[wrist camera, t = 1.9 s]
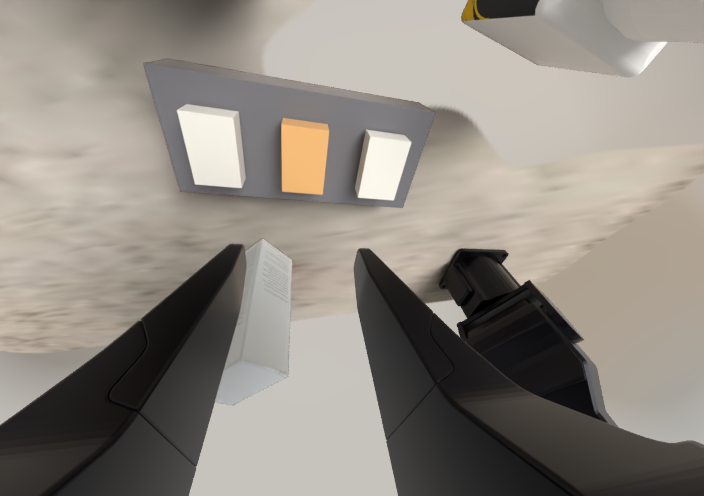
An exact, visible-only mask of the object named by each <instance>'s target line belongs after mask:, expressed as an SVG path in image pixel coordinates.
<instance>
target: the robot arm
mask: <svg viewBox="0 0 704 496" xmlns="http://www.w3.org/2000/svg"><path fill="white" fill-rule="evenodd" d="M507 256H508V253H507V252H506V251H505V250H482V249H461V250H459V251H458V252H457V254H456V256H455V258H454V259H453V261H452V263H451V265H450V266H449V268H448V270H447V272H446V273H445V275H444V277H443V279H442V280H441V282H440V284H439V286H440V288H441V289H448V290H449V292H450V293H451V295H452V297H453V299H454V300H455V302H456V304H457V305H458V306H461V308H462V310H463V312H464V313H465V315H466V317H467V319H466V320H464V321H462V322H459V323H458V324H457V327H458V330H459V334H460V337H459V336H458V335H457V334H456V333H455V332H454V331H452V330H451V329H450V328H449V327H448V326H447V325H446V324H445V323H444V322H443V321H442V320H441V319H440V318H439V317H438V316H437V315H436V314H435V313H433V311H432V310H431V309H430V308H429V307H428V306H427V305H426V304H425V303H424V302H423V301H422V300H421V299H420V298H419V297H418V296H417V295H416V294H415V293H414V292H413V291H412V290H411V289H410V288H409V287H408V286H407V285H406V284H405V283H404V282H403V281H402V280H401V279H400V278H399V277H398V276H397V275H396V274H395V273H394V272H393V271H392V270H391V269H390V268H389V267H388V266H387V265H385V264H384V263H383V262H382V261H381V260H380V259H379V258H378V257H377V256H376V255H375V254H374V253H373V252H372V251H371V250H370V249H366V248H360V249H358V251H357V255H356V259H355V263H354V278H355V288H356V299H357V308H358V313H359V318H360V322H361V327H362V332H363V336H364V341H365V345H366V350H367V354H368V359H369V364H370V368H371V372H372V377H373V382H374V386H375V391H376V395H377V400H378V405H379V409H380V413H381V418H382V423H383V428H384V432H385V437H386V440H387V441H386V442H387V446H388V451H389V456H390V460H391V464H392V469H393V474H394V478H395V483H396V488H397V492H398V496H704V445H703V444H701V443H698V442H696V441H683V442H678V443H666V442H660V441H656V440H652V439H649V438H645V437H643V436H640V435H637V434H634V433H631V432H629V431H626V430H623V429H621V428H619V427H618V426H617V425H616V424H615V422H614V421H613V420H612V418H611V417H610V416H609V415H608V413H607V412H606V410H605V406H604V401H603V396H602V391H601V386H600V381H599V376H598V372H597V368H596V366H595V364H594V363H593V362H592V361H591V360H590V359H589V357H588V356H587V355H586V354H585V353H584V352H583V351H582V349H581V348H580V347H579V346H578V345H577V344H576V343H578V342H580V341H583V340H584V339H583V338H582V336H581V335H580V334H579V333H578V332H577V330H576V329H575V328H574V327H573V326H572V325H571V323H570V322H569V321H568V320H567V319H566V318H565V316H564V315H563V314H562V313H561V312H560V311H559V310H558V308H557V307H556V306H555V305H554V304H553V303H552V302H551V301H550V300H549V299H548V298H547V297H546V296H545V295H544V294H543V293H542V292H541V291H540V290H539V289H538V288H537V287H536V286H535V285H534V284H533V283H532V282H531V281H530V280H528V281H527V282H525V284H523V285H522V286H520V284H519V283H518V282H517V281H516V280H515V279H514V277H513V276H512V275H511V274H510V273H509V272H508V270H507V269H506V268H505V267H504V266H503V265H502V263H503V261H504V260H505V259H506V257H507ZM246 268H247V263H246V255H245V248H244V245H242V244H230V245H228V246H227V247H226V248H225V249H223V250H222V251H221V252H220V253H219V254H217V255H216V256H215V257H214V258H213V259H211V260H210V261H209V262H208V263H207V264H206V265H204V266H203V267H202V268H201V269H200V270H198V271H197V272H196V273H195V274H194V275H192V276H191V277H190V278H189V279H188V280H187V281H185V282H184V283H183V284H182V285H181V286H179V287H178V288H177V289H176V290H175V291H173V292H172V293H171V294H170V295H169V296H168V297H166V298H165V299H164V300H163V301H162V302H160V303H159V304H158V305H157V306H156V307H154V308H153V309H152V310H151V311H150V312H149V313H147V314H146V315H145V316H144V317H143V318H142V319H141V321H142V322H141V321H138V322H137V323H135V324H134V325H133V326H132V327H131V328H129V329H128V330H127V331H126V332H125V333H123V334H122V335H121V336H120V337H118V338H117V339H116V340H115V341H113V342H112V343H111V344H110V345H109V346H107V347H106V348H105V349H104V350H102V351H101V352H100V353H99V354H97V355H96V356H94V357H93V358H92V359H90V360H89V361H88V362H86V363H85V364H84V365H82V366H81V367H80V368H78V369H77V370H76V371H74V372H73V373H71V374H70V375H69V376H67V377H66V378H65V379H63V380H62V381H60V382H59V383H58V384H56V385H55V386H53V387H52V388H51V389H49V390H48V391H47V392H45V393H44V394H43V395H41V396H40V397H39V398H37V399H36V400H34V401H33V402H32V403H30V404H29V405H27V406H26V407H25V408H23V409H22V410H20V411H19V412H18V413H16V414H15V415H14V416H12V417H11V418H9V419H8V420H7V421H5V422H4V423H2V424H1V425H0V496H189V492H190V489H191V485H192V482H193V478H194V475H195V471H196V466H197V463H198V460H199V456H200V453H201V449H202V446H203V442H204V439H205V435H206V431H207V428H208V424H209V421H210V417H211V414H212V410H213V406H214V403H215V399H216V396H217V392H218V389H219V385H220V381H221V378H222V374H223V371H224V367H225V364H226V360H227V357H228V353H229V349H230V346H231V342H232V339H233V335H234V332H235V328H236V324H237V321H238V317H239V313H240V309H241V303H242V297H243V290H244V283H245V276H246Z"/></svg>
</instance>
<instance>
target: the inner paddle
mask: <svg viewBox="0 0 704 496" xmlns="http://www.w3.org/2000/svg"><path fill="white" fill-rule="evenodd" d="M411 143H412V142H411V141H410V140H409V139H408V138H407V137H406V136H405V135H400V134H393V133H386V132H379V131H372V130H366V132H365V137H364V142H363V148H362V153H361V158H360V163H359V169H358V174H357V179H356V185H355V190H356V193H357V196H358V198H369V199H381V200H393V201H394V198H395V195H396V192H397V188H398V185H399V182H400V178H401V175H402V172H403V169H404V165H405V162H406V159H407V156H408V152H409V149H410V146H411Z"/></svg>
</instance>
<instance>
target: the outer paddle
mask: <svg viewBox="0 0 704 496" xmlns="http://www.w3.org/2000/svg"><path fill="white" fill-rule="evenodd" d="M177 113H178V117H179V121H180V125H181V129H182V133H183V137H184V141H185V145H186V150H187V154H188V158H189V162H190V166H191V170H192V174H193V178H194V182H195V184H196V185H208V186H221V187H233V188H242V186H243V184H244V182H245V179H246V176H245V166H244V157H243V148H242V138H241V129H240V119H239V111H232V110H225V109H218V108H211V107H204V106H197V105H190V104H186V105H184V106H183V107H181V108H179V109H178V110H177Z"/></svg>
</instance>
